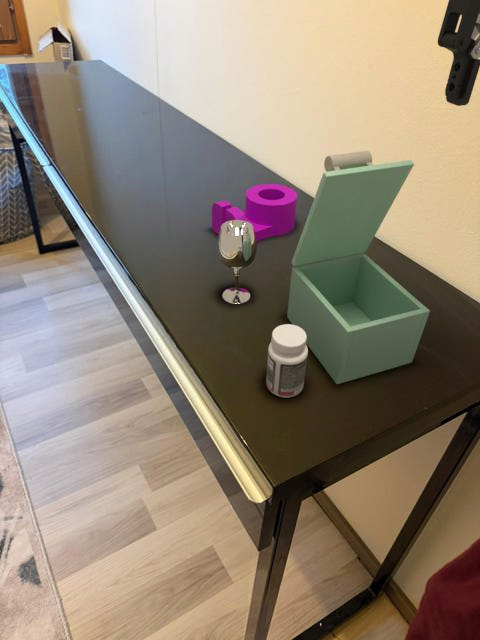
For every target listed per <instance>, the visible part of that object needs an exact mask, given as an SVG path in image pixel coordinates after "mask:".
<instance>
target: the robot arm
mask: <svg viewBox="0 0 480 640" xmlns="http://www.w3.org/2000/svg"><path fill="white" fill-rule="evenodd" d="M460 17H461V18H460ZM458 23H459V24H458ZM457 27H458V28H457ZM456 30H457V31H456ZM437 45H438V46H439V47H440V48H444V49H446V50H448V51H449V52H451V54H452V55H453V58H452V63H451V67H450V70H449V75H448V78H447V83H446V85H445V88H444V90H445V91H444V95H445V100H446V102H447V103H449V104H451V105H453V106H456V107H461V106H467V105H468V104H469V103H470V100H471V97H472V94H473V90H474V87H475V83H476V81H477V77H478V73H479V71H480V0H448V2H447V6H446V9H445V12H444V16H443V19H442V24H441V27H440V30H439V34H438V37H437Z"/></svg>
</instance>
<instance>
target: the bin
mask: <svg viewBox="0 0 480 640" xmlns="http://www.w3.org/2000/svg"><path fill="white" fill-rule="evenodd" d="M289 284H290V285H289V295H288V304H287V315H286V318H287V319H288V320H289V323H291V324H292V325H296V326H298V327H300V328H302V329H303V330H304V331H305V333H306V335H307V339H306V345H307V347H308V348H309V349H310V350H311V352H312V353H313V354H314V356H315V357H316V359H317V360H318V361H319V362H320V364H321V365H322V367H323V368H324V369H325V371H326V372H327V374H328V375H329V376H330V377H331V379H332V380H333V382H334V383H335V384H336V385H340V384H344V383H347V382H351V381H353V380H357V379H360V378H364V377H367V376H371V375H375V374H377V373H382V372H384V371H388V370H390V369H391V370H392V369H394V368H395V369H396V368H399V367H401V366H405V365H408V364H411V363H413V361H414V358H415V355H416V353H417V349H418V346H419V344H420V341H421V338H422V336H423V332H424V330H425V327H426V324H427V321H428V318H429V315H430V312H431V311H430V309H429V308H428V307H426V306H425V305H424V304H423V303H422V302H421V301H419V299H417V298H416V297H415V296H414V295H413V294H411V293H410V292H409V291H408V290H407V289H406V288H404V286H402V285H401V284H400V283H399V282H397V281H396V280H395V279H394V278H393V277H392V276H391V275H390V274H388V272H386V271H385V270H384V269H383V268H382V267H381V266H379V265H378V264H377V263H376V262H375V261H374V260H372V259H371V258H370V257H369V256H368V255H367V254H366V253H365V252H363V253H358V254H353V255H348V256H343V257H338V258H333V259H328V260H323V261H318V262H313V263H309V264H304V265H299V266H292V267H291V274H290V283H289Z"/></svg>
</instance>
